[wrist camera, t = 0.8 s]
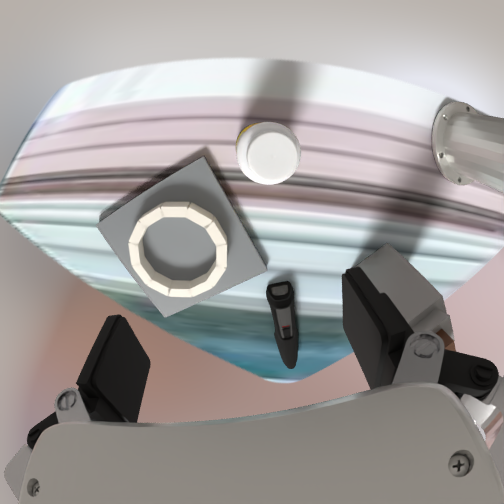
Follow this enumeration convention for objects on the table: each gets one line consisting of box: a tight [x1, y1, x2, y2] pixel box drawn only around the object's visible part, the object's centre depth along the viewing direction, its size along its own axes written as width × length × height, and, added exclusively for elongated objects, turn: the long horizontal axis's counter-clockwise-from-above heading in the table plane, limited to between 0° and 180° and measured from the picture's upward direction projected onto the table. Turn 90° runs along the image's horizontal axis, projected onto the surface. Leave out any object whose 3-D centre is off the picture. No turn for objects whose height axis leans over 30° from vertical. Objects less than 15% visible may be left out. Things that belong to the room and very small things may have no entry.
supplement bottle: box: [236, 122, 301, 185], centre depth 25 cm, size 6×6×10 cm
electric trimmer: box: [266, 281, 298, 369], centre depth 40 cm, size 4×16×3 cm, turn 9°
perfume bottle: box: [355, 243, 456, 352], centre depth 30 cm, size 7×7×18 cm
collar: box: [96, 156, 267, 317], centre depth 33 cm, size 16×16×3 cm
